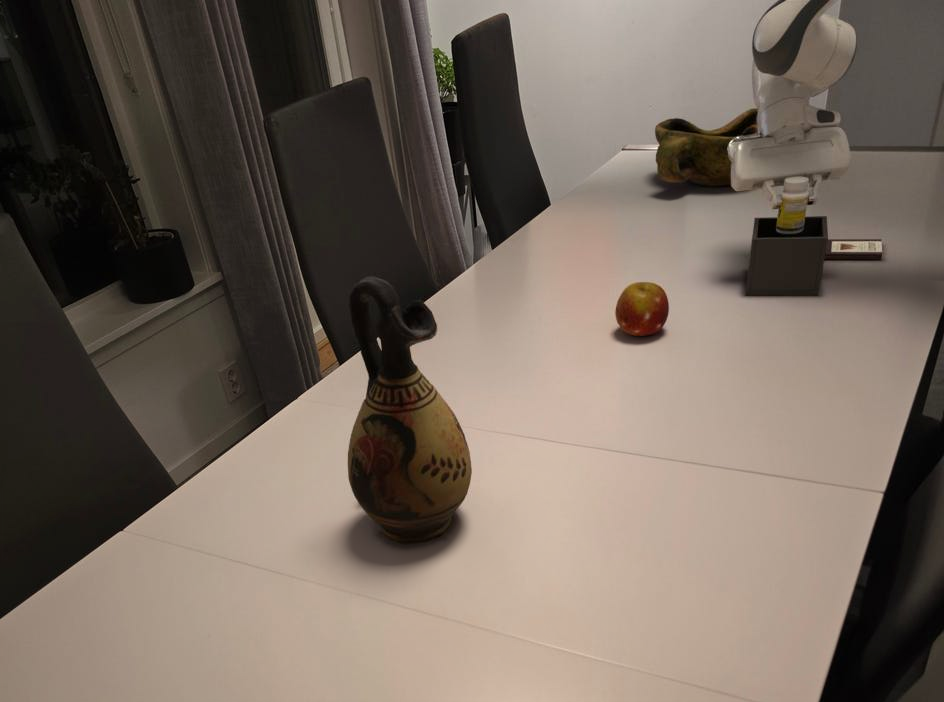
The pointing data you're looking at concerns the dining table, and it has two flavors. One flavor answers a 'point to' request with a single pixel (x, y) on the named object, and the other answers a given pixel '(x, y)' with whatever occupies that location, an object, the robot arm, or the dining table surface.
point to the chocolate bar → (854, 249)
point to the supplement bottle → (793, 205)
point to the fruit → (642, 309)
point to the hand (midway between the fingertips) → (794, 205)
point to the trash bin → (787, 258)
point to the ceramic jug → (403, 424)
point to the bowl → (699, 149)
